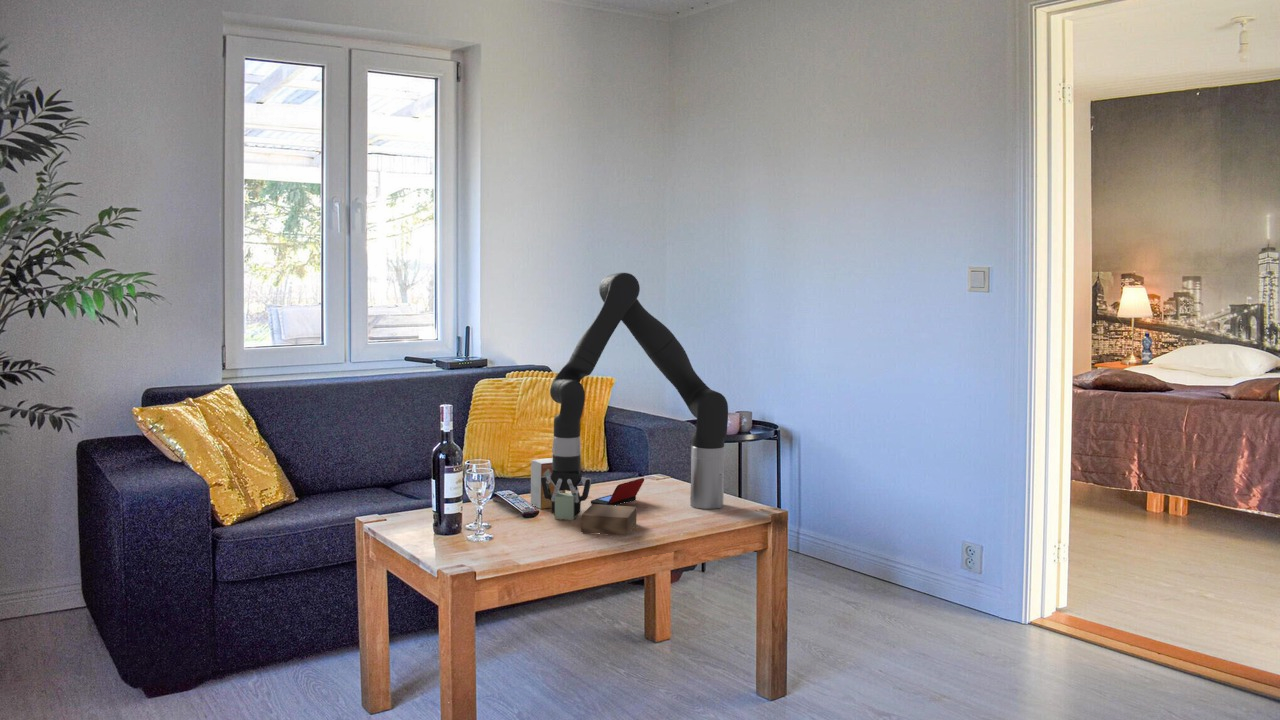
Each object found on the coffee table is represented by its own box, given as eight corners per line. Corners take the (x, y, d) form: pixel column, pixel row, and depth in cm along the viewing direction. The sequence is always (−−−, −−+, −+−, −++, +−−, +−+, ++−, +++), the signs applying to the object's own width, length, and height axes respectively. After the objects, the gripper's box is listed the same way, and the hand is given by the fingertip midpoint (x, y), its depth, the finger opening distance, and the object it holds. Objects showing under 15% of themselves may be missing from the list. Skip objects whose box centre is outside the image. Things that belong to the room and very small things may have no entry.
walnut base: (636, 525, 263) (636, 506, 263) (627, 537, 252) (627, 517, 251) (592, 522, 266) (592, 504, 265) (581, 534, 254) (581, 514, 253)
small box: (540, 509, 277) (540, 463, 276) (530, 504, 282) (530, 459, 281) (566, 506, 282) (566, 460, 280) (555, 501, 287) (555, 456, 286)
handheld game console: (616, 497, 295) (616, 472, 294) (645, 502, 288) (645, 477, 288) (588, 504, 285) (588, 478, 285) (617, 510, 279) (618, 484, 278)
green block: (577, 515, 271) (577, 493, 270) (573, 520, 266) (573, 498, 266) (559, 514, 272) (559, 492, 271) (554, 519, 267) (554, 497, 266)
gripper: (595, 451, 270) (594, 513, 271) (544, 449, 272) (543, 510, 274) (589, 456, 263) (589, 520, 264) (537, 454, 265) (536, 517, 266)
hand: (565, 514), depth 269 cm, fingers closed on green block, 5 cm apart
